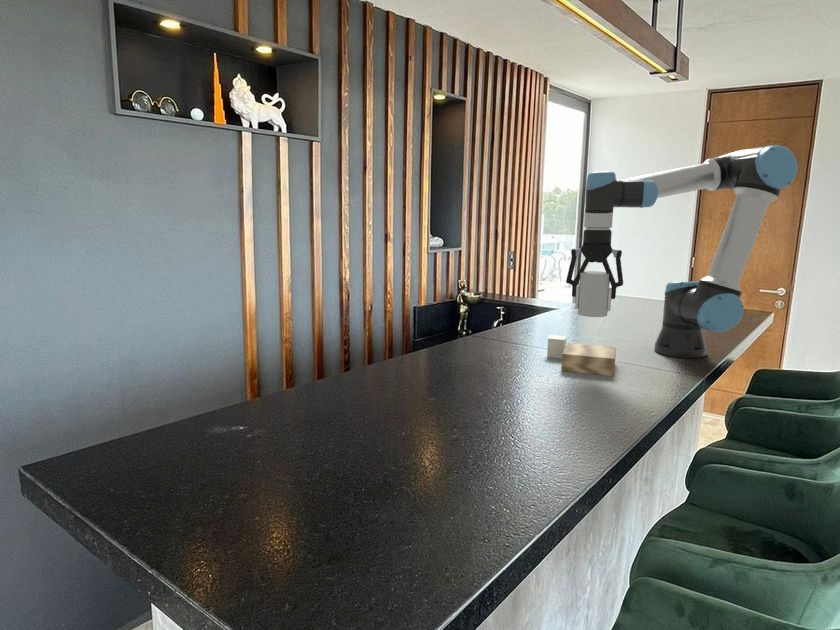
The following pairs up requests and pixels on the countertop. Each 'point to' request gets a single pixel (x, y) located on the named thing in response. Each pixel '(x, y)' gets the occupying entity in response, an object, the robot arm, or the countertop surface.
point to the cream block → (556, 346)
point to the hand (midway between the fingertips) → (592, 309)
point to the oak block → (589, 359)
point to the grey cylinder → (593, 294)
